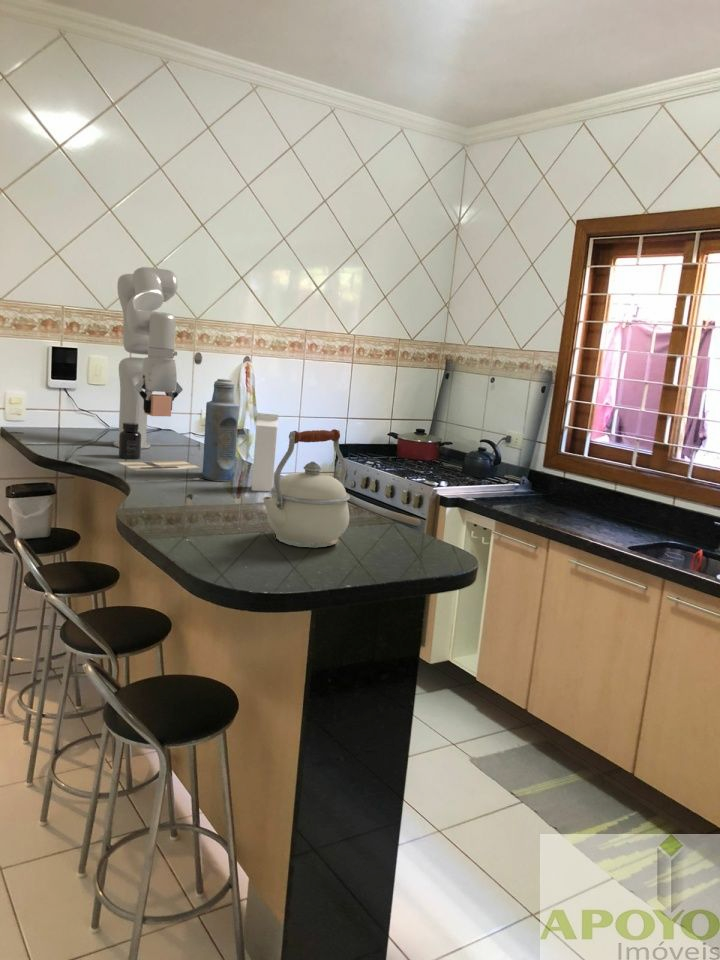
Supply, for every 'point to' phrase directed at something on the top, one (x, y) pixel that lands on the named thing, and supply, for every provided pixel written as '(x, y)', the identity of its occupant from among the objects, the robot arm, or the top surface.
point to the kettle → (309, 497)
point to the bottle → (221, 433)
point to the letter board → (159, 465)
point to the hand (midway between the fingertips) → (157, 412)
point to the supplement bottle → (130, 442)
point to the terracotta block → (160, 405)
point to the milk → (264, 452)
